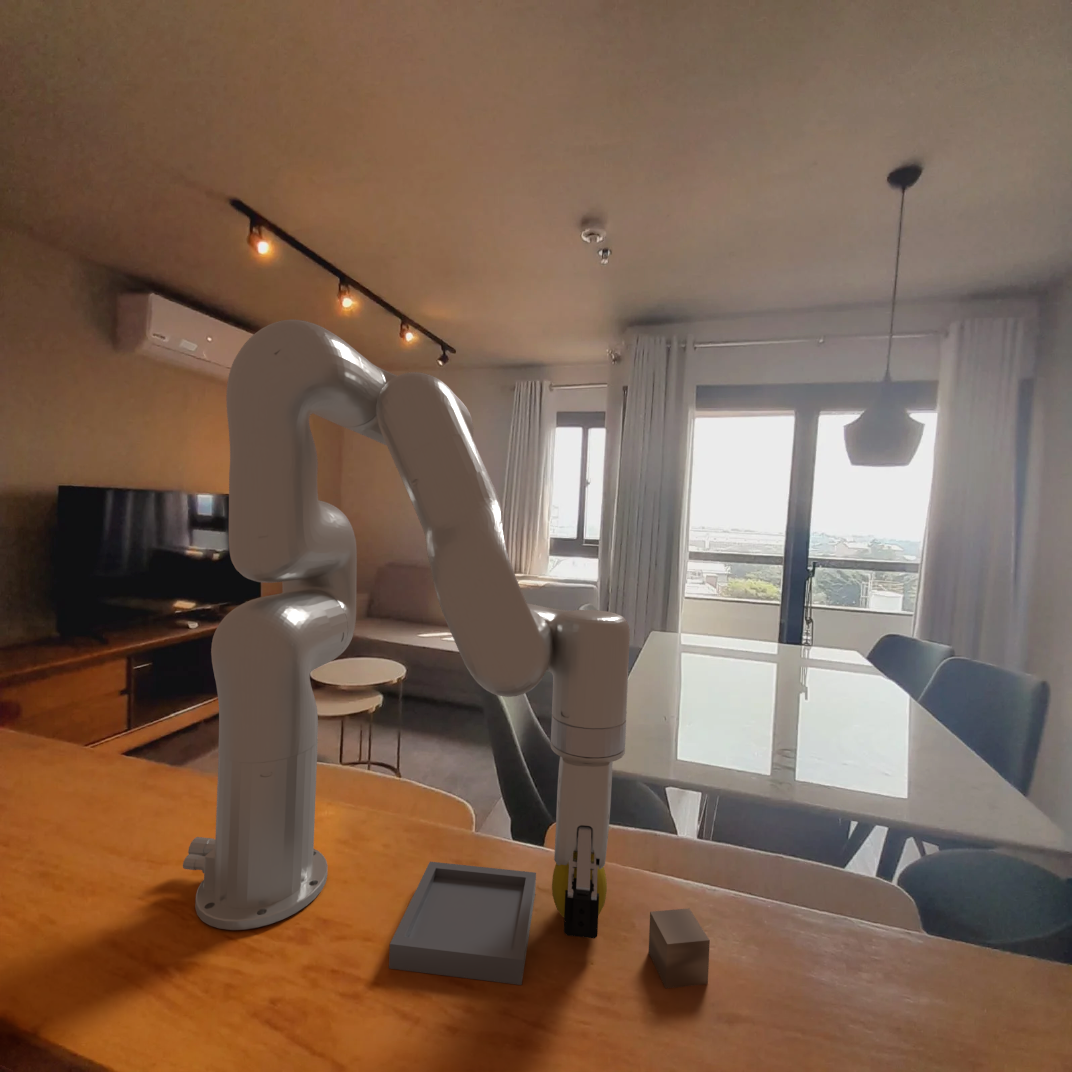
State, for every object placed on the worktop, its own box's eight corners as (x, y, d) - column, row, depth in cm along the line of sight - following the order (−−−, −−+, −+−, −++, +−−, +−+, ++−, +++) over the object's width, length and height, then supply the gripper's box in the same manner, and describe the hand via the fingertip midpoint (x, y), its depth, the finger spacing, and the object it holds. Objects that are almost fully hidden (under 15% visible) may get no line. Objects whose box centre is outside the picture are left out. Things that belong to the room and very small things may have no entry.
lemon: (600, 905, 56) (603, 830, 56) (609, 945, 51) (612, 863, 51) (548, 904, 56) (551, 829, 56) (552, 945, 51) (555, 862, 51)
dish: (388, 968, 47) (389, 943, 47) (429, 881, 59) (429, 861, 59) (521, 984, 46) (522, 960, 46) (535, 892, 58) (536, 872, 58)
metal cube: (665, 989, 46) (667, 944, 46) (648, 953, 50) (650, 911, 50) (707, 984, 47) (709, 940, 47) (687, 949, 51) (689, 908, 51)
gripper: (556, 704, 62) (550, 856, 62) (544, 767, 45) (535, 977, 45) (620, 708, 62) (614, 862, 62) (632, 775, 45) (623, 988, 45)
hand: (580, 909), depth 54 cm, fingers closed on lemon, 5 cm apart
